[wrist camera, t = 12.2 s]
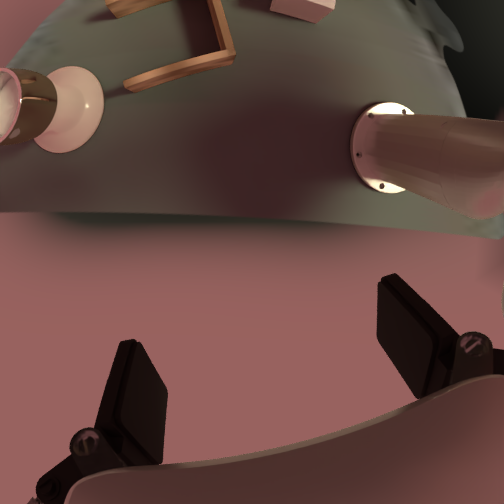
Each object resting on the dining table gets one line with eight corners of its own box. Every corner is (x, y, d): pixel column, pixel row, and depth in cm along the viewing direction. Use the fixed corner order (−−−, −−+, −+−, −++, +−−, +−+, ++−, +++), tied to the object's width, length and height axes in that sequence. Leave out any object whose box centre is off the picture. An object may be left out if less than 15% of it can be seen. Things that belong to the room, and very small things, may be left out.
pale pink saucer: (94, 52, 27) (92, 51, 26) (114, 132, 32) (113, 132, 31) (23, 91, 27) (20, 91, 26) (42, 165, 31) (39, 166, 31)
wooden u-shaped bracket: (209, -14, 26) (210, -32, 21) (231, 64, 31) (236, 54, 26) (116, 13, 25) (105, 0, 21) (135, 92, 30) (124, 88, 26)
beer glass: (43, 141, 29) (-32, 158, 16) (40, 89, 27) (-35, 82, 13) (91, 130, 30) (25, 137, 17) (88, 75, 28) (24, 52, 14)
